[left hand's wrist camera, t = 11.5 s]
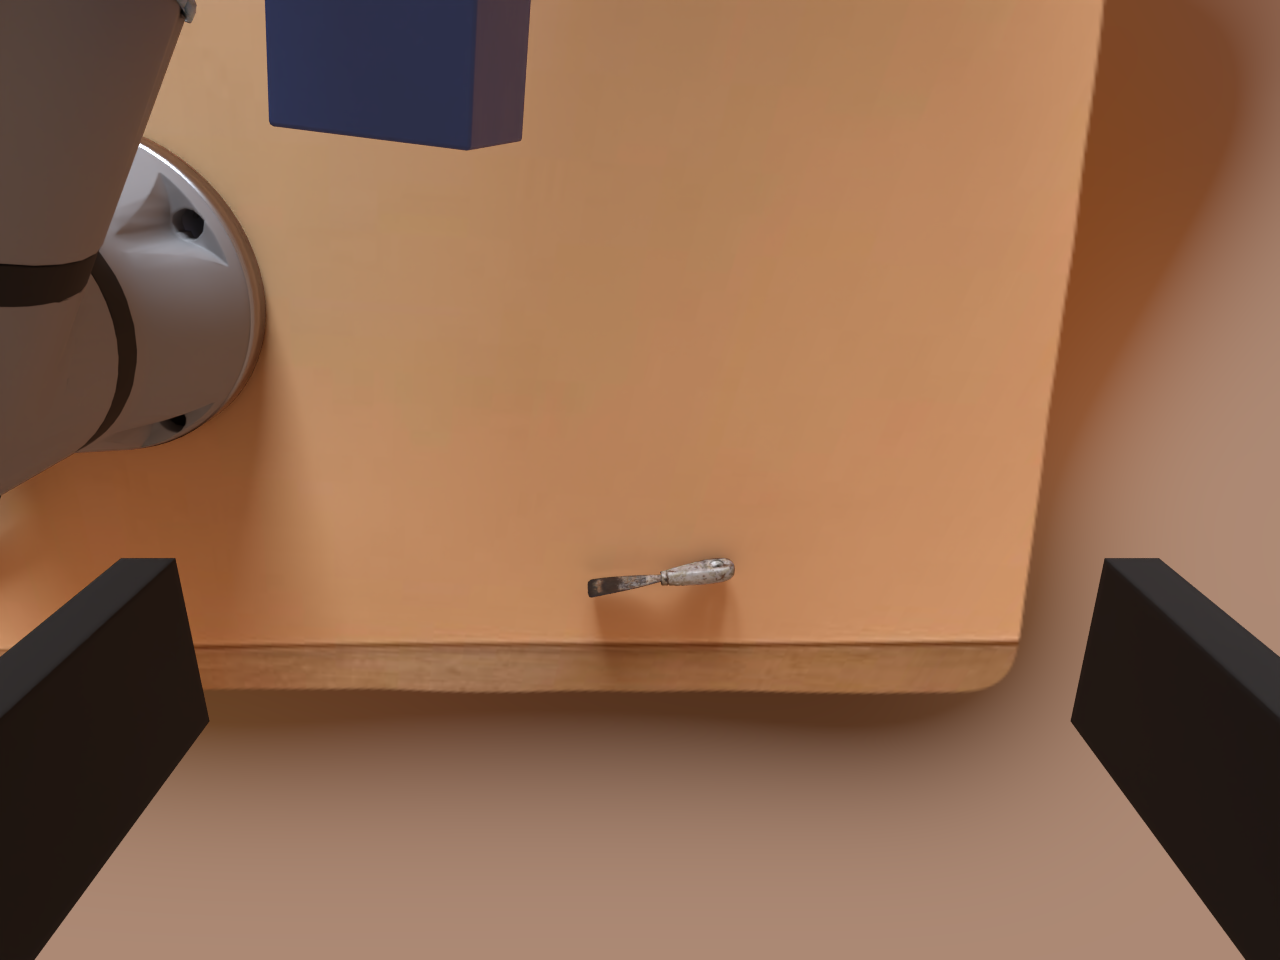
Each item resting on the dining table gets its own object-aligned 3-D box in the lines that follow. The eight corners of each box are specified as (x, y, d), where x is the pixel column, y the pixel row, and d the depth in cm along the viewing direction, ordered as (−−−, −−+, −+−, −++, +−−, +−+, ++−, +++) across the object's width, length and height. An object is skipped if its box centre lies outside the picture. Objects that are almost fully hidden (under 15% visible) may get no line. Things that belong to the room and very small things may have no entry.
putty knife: (734, 569, 49) (737, 584, 47) (590, 591, 49) (589, 606, 48) (731, 553, 48) (735, 567, 47) (587, 575, 49) (585, 590, 47)
